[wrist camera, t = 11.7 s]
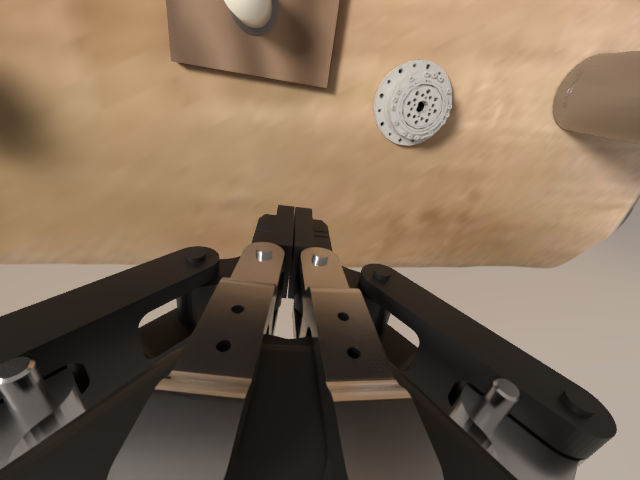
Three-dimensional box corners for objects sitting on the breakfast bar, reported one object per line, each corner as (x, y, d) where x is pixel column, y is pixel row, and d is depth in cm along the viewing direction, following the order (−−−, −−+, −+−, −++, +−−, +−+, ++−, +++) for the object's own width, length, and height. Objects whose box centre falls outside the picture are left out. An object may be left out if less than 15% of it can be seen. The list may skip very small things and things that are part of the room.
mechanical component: (427, 151, 41) (461, 73, 36) (440, 158, 37) (480, 73, 33) (362, 133, 39) (389, 49, 35) (369, 139, 35) (400, 45, 31)
